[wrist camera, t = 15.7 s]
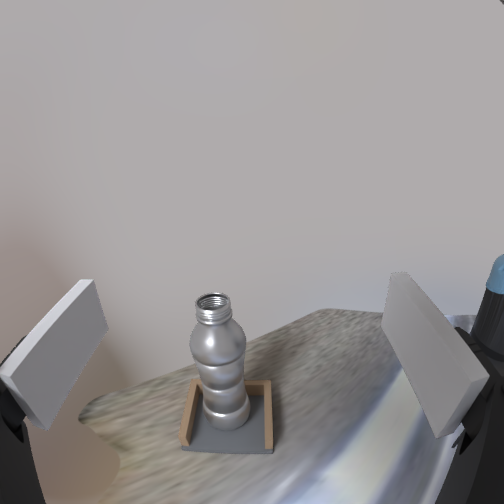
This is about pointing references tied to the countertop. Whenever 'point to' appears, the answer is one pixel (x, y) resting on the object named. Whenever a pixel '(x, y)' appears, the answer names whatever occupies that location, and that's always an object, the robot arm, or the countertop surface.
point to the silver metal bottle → (220, 362)
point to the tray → (232, 441)
